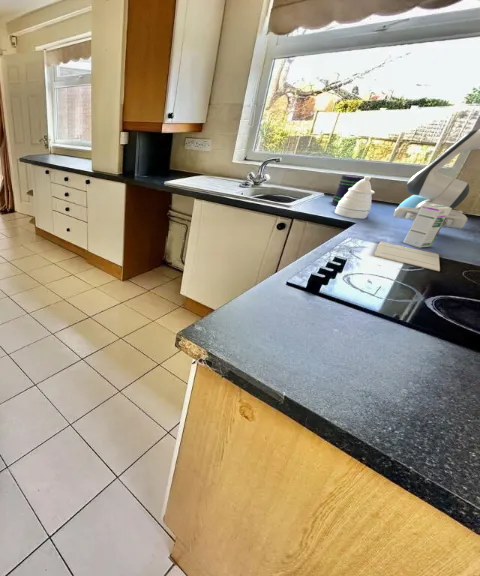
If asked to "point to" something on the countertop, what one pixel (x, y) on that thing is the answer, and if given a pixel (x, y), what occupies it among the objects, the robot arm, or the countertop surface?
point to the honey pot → (356, 200)
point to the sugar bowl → (412, 201)
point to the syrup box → (427, 225)
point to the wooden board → (408, 256)
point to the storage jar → (345, 186)
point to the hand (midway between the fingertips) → (428, 220)
